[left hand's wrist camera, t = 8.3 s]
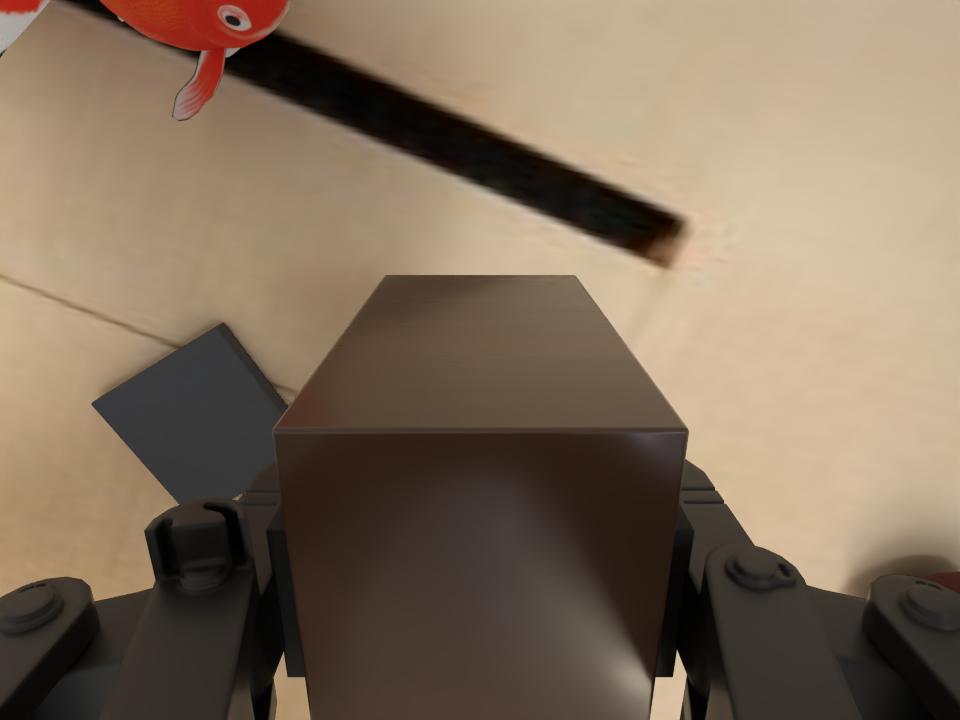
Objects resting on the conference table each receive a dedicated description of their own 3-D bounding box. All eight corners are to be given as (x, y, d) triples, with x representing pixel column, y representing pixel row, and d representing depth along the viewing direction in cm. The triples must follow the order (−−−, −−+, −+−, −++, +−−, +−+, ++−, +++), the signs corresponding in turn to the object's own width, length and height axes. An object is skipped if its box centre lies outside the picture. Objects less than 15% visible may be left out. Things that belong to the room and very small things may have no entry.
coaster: (224, 321, 29) (215, 327, 28) (318, 446, 31) (313, 455, 30) (101, 396, 30) (89, 404, 29) (200, 510, 33) (192, 520, 32)
